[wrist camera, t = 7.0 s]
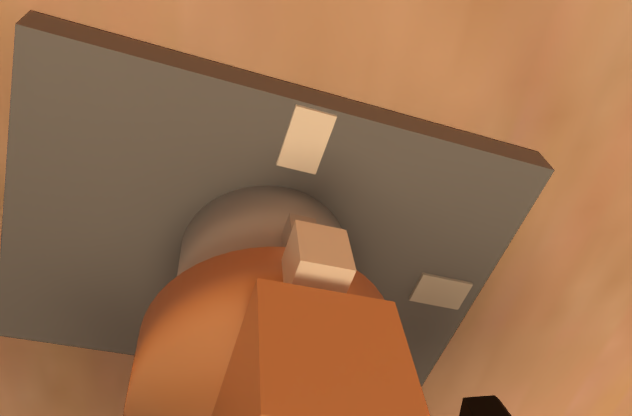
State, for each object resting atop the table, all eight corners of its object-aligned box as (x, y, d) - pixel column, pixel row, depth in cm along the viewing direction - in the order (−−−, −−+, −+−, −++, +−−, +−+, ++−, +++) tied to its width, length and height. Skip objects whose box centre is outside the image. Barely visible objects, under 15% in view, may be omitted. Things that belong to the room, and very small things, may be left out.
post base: (6, 310, 17) (-50, 427, 14) (30, 10, 13) (-45, 78, 10) (408, 372, 21) (440, 480, 17) (538, 152, 16) (614, 238, 13)
